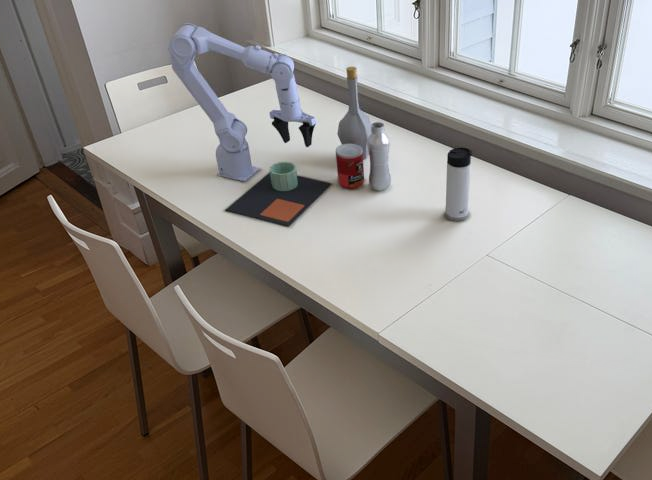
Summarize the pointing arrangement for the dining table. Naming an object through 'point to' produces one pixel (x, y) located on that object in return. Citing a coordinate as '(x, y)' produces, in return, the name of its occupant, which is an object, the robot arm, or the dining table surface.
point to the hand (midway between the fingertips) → (297, 143)
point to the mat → (278, 200)
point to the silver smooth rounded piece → (378, 157)
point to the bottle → (354, 118)
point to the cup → (283, 176)
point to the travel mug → (458, 183)
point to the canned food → (350, 166)
